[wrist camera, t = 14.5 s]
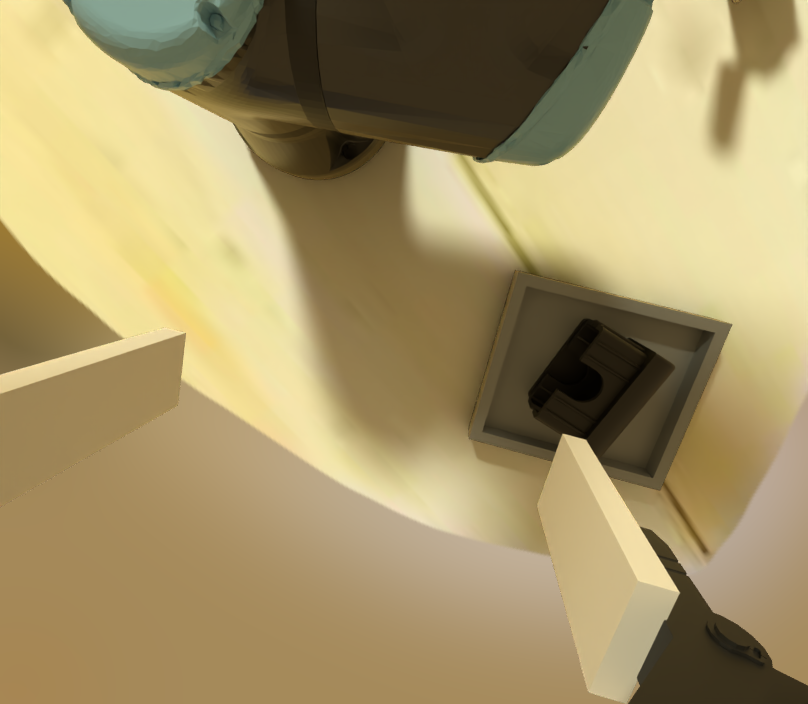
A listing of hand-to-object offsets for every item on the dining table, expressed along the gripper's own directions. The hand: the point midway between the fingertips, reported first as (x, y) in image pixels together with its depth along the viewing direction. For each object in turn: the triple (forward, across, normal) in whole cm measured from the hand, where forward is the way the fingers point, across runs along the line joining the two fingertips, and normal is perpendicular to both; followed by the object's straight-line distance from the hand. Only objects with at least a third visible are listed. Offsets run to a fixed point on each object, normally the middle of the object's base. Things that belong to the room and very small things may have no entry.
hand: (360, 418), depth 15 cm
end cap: (+28, +16, -3) cm, 32 cm away
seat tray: (+29, +16, -3) cm, 33 cm away
